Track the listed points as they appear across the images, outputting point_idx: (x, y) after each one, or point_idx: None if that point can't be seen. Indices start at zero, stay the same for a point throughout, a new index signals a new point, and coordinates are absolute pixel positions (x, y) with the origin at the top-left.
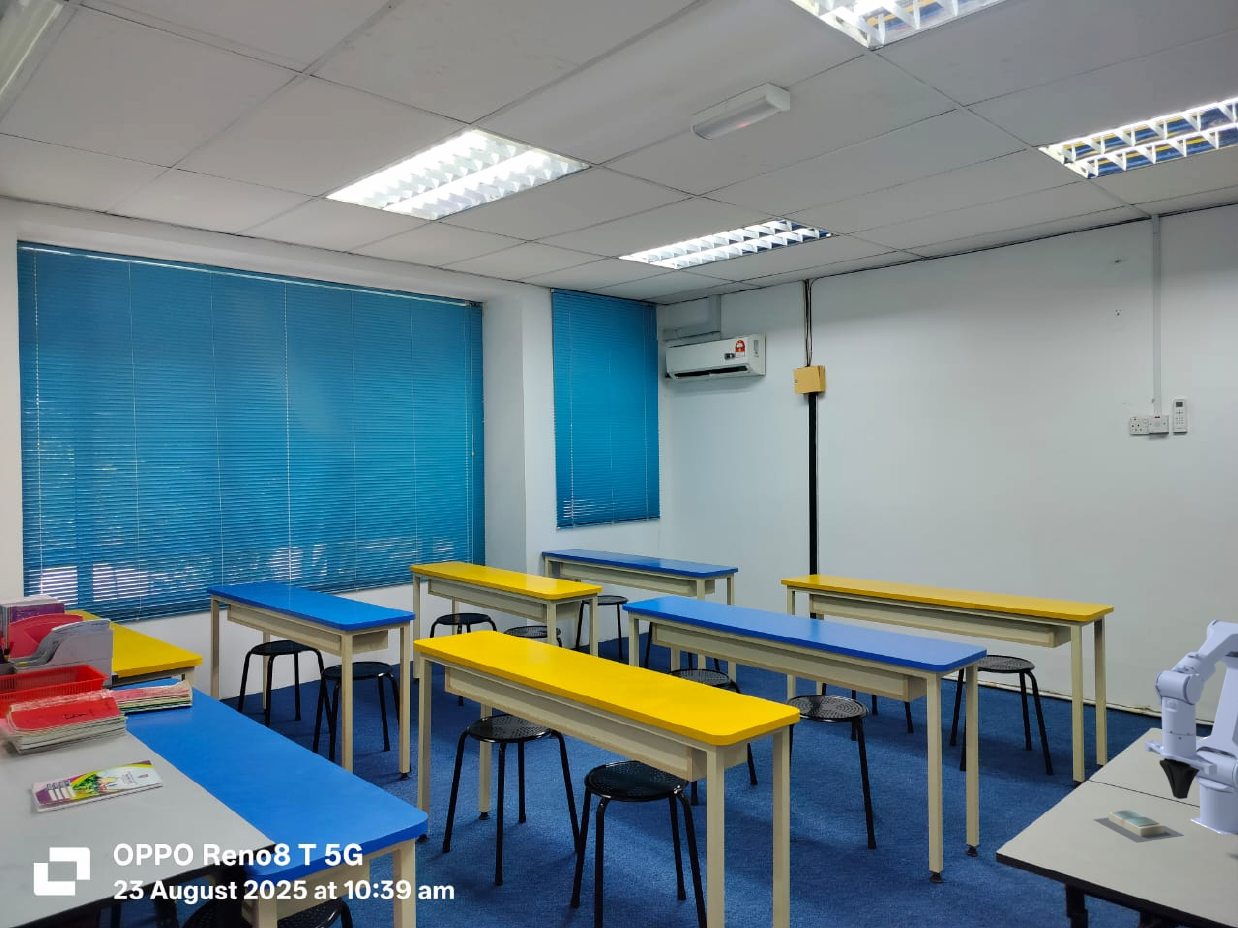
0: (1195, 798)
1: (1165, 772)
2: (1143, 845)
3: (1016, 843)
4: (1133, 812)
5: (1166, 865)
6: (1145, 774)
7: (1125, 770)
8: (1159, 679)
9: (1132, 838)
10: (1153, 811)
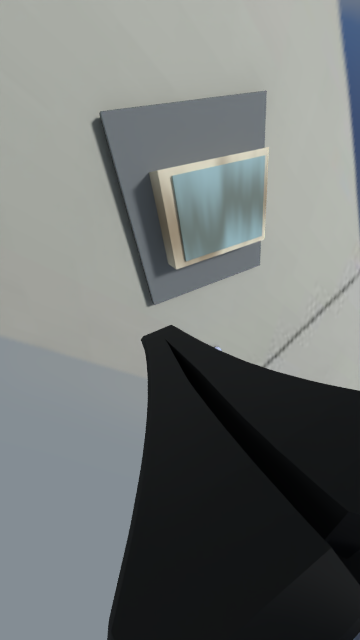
0: None
1: (288, 379)
2: (99, 143)
3: None
4: (249, 231)
5: None
6: (338, 349)
7: (355, 330)
8: None
9: (132, 122)
10: (261, 304)
